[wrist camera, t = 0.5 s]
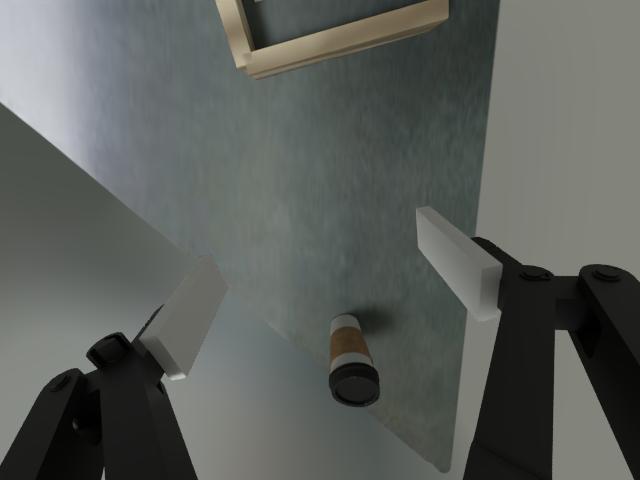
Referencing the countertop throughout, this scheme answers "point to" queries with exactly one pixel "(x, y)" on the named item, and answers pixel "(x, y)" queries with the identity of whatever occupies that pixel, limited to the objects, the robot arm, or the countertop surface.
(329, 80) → the countertop surface
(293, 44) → the wooden corner barrier
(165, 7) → the countertop surface
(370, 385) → the coffee cup
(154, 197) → the countertop surface
